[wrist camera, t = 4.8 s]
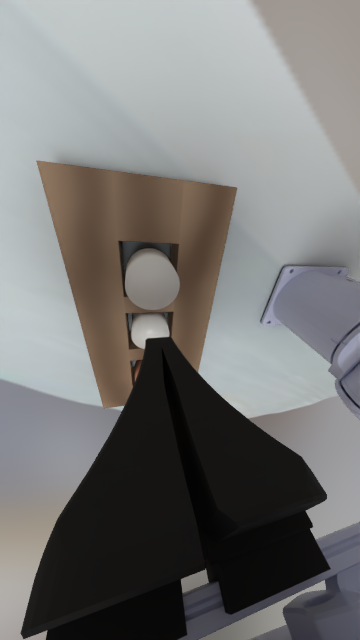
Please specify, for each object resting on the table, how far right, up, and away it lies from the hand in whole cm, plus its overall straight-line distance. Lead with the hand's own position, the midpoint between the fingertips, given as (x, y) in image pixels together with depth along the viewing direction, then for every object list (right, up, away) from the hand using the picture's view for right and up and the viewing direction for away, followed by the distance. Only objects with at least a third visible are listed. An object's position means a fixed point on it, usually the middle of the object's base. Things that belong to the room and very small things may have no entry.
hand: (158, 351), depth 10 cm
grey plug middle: (-2, +2, +10) cm, 10 cm away
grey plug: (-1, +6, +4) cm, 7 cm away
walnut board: (-2, +2, +10) cm, 11 cm away
